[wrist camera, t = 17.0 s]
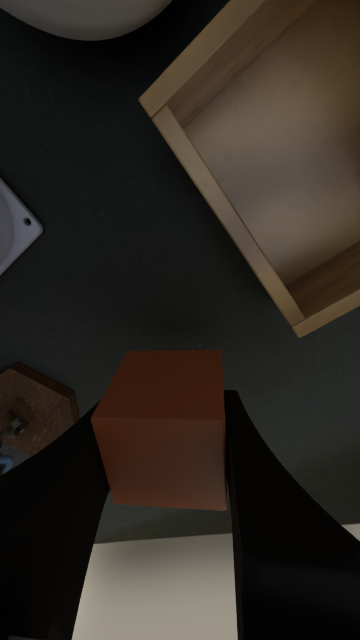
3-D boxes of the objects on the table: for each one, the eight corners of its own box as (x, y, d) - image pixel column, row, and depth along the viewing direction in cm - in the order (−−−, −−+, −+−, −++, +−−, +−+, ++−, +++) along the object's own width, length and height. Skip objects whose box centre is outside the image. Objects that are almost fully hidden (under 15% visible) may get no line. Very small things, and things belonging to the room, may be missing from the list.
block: (140, 421, 15) (113, 504, 11) (127, 350, 13) (89, 418, 9) (222, 422, 14) (226, 511, 10) (221, 348, 12) (225, 420, 8)
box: (162, 132, 16) (137, 99, 10) (389, -90, 12) (537, -331, 6) (275, 300, 19) (299, 338, 14) (482, 174, 15) (630, 160, 10)
